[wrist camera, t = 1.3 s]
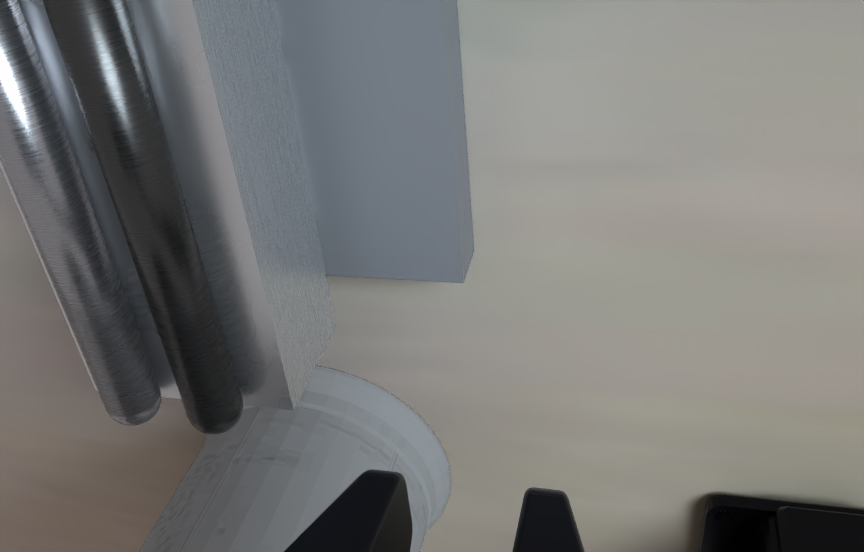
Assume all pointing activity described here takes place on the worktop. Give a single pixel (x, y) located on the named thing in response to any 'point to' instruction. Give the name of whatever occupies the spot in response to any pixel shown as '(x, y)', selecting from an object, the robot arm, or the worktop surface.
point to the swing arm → (167, 199)
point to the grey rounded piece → (301, 469)
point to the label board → (382, 134)
